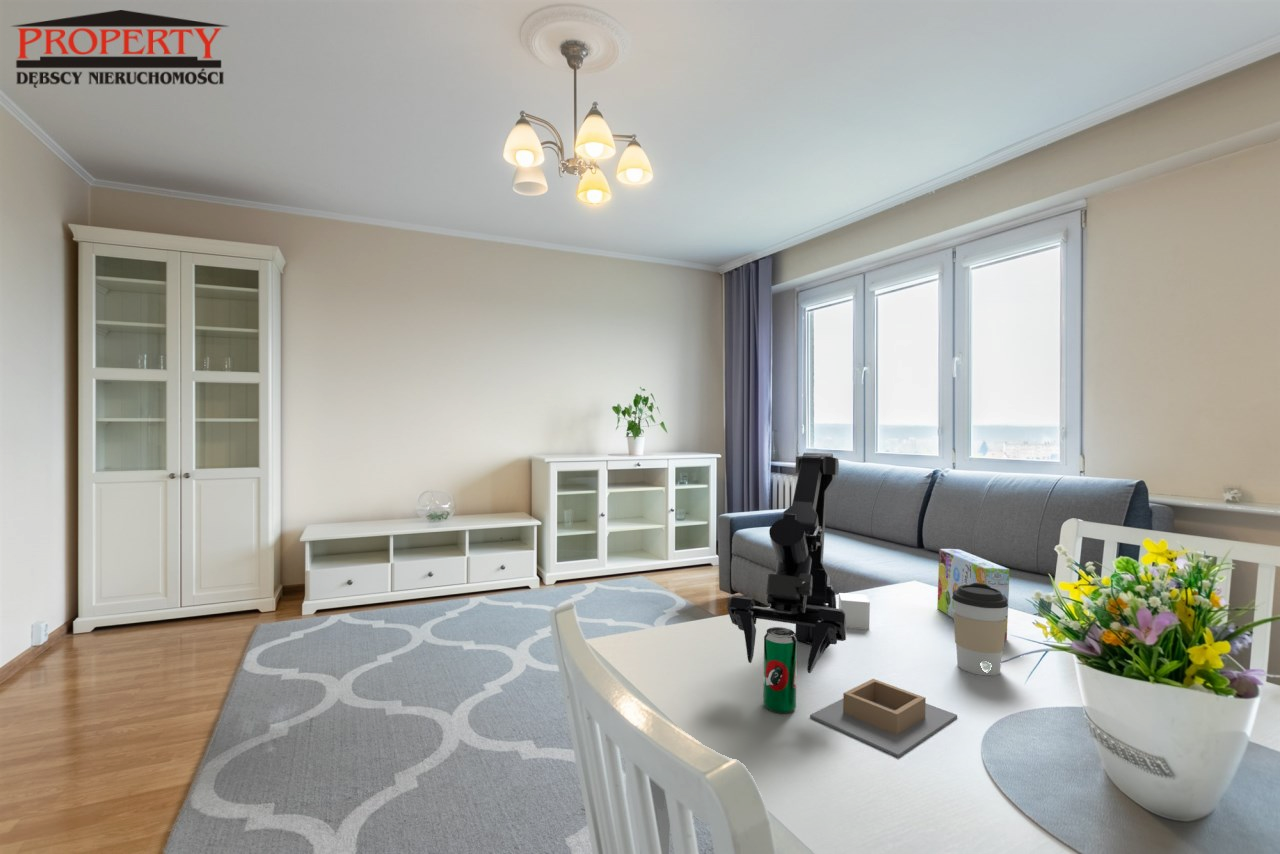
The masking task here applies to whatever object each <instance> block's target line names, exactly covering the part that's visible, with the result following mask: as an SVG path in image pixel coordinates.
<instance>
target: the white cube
mask: <svg viewBox="0 0 1280 854" xmlns="http://www.w3.org/2000/svg"><path fill="white" fill-rule="evenodd" d="M870 604H871V603H870V600H869V597H868V595H866V594H858V593H857V594H856V593H845V592H839V593H838V609H842V610H843V611H844V613H845V615H846V625H847V628H850V627H852V628H851V629H862V630H870V613H871V612H870V610H871V609H870V608H871V606H870Z"/></svg>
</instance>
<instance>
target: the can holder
mask: <svg viewBox="0 0 1280 854" xmlns="http://www.w3.org/2000/svg"><path fill="white" fill-rule="evenodd" d="M842 695H843V698H841V699H839V700H837V701H835V702H833V703H831V704H829V705H826V706H825V707H822V708H821V709H819V710H817V711H814V712H813V713H811V714H810V715H809V718H811V719H812V720H815V721H817V722H820V723H821V724H823V725H826V726H828V727H830V728H832V729H835V730H836V731H837V730H838V731H839V732H840V733H844V734H846V735H848V736H850V737H852V738H855V739H857V740H858V741H861V742H863V743H865V744H868V745H870V746H872V747H875V748H876V749H879V750H881V751H883V752H886V753H888V754H890V755H891V756H894V757H896V758H901V756H903V755H904V754H906V753H908V752H909V751H910V750H912V749H913V748H915V747H916V746H918V745H919V744H920V743H922V742H923V741H925V740H927V739H928V738H930V737H931V736H932V735H934V734H935V733H936V732H938V731H940V730H941V729H942V728H944V727H946V726H947V725H948V724H950V723H951V722H953V721H955V720H956V719H957V718H958V714H957V713H953V712H951V711H947V710H944V709H942V708H940V707H936V706H934V705H931V704H929V703H926V701H927V700H926V696H925V697H924V696H922V695H919V694H916V693H914V692H911V691H909V690H906V689H903V688H900V687H897V686H895V685H892V684H889V683H886V682H883V681H881V680H878V679H875V678H871V679H870V680H867V681H865V682H863V683H862V684H859V685H856V686H855V687H853V688H851V689H849V690H847V691H845V692H843V694H842Z"/></svg>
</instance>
